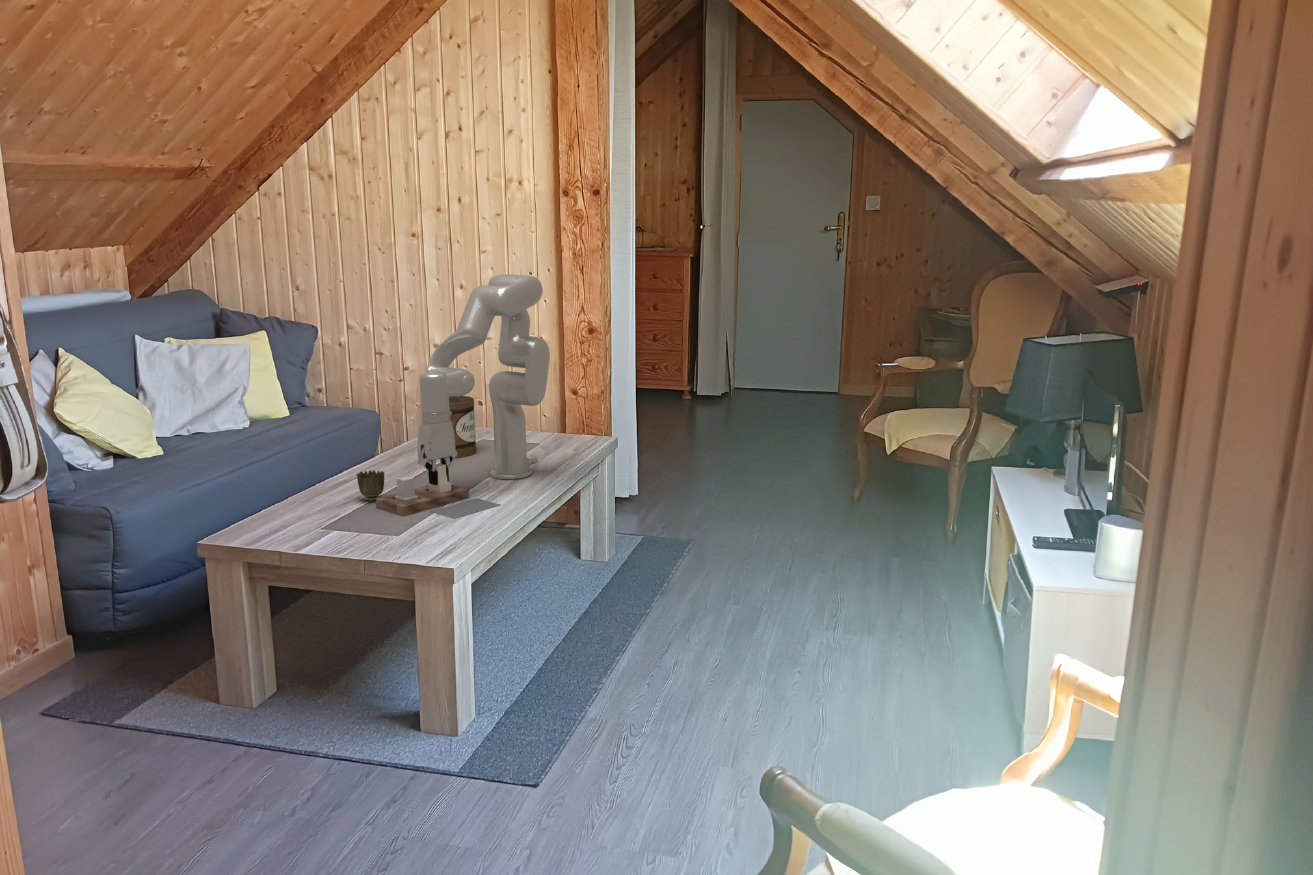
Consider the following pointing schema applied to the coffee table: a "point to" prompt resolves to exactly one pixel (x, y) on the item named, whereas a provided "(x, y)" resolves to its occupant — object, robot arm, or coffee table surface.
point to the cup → (371, 484)
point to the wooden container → (463, 424)
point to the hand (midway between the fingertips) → (439, 482)
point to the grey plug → (405, 489)
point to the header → (421, 500)
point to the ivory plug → (440, 481)
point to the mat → (465, 508)
